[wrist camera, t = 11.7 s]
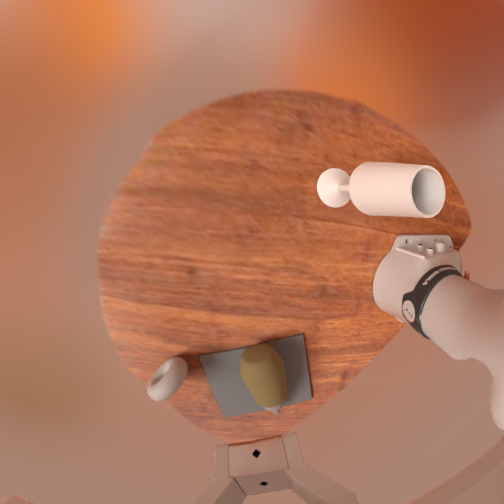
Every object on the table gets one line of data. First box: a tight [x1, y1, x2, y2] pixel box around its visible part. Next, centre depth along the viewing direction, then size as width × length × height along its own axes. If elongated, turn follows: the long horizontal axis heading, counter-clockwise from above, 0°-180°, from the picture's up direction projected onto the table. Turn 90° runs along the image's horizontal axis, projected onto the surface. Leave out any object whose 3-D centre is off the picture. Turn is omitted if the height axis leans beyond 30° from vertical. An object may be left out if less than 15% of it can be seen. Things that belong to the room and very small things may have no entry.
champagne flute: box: [317, 162, 445, 218], centre depth 32 cm, size 7×7×24 cm
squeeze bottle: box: [240, 344, 288, 414], centre depth 47 cm, size 8×8×18 cm
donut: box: [147, 357, 188, 401], centre depth 44 cm, size 10×4×10 cm, turn 133°
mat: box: [199, 333, 312, 417], centre depth 50 cm, size 20×18×1 cm
